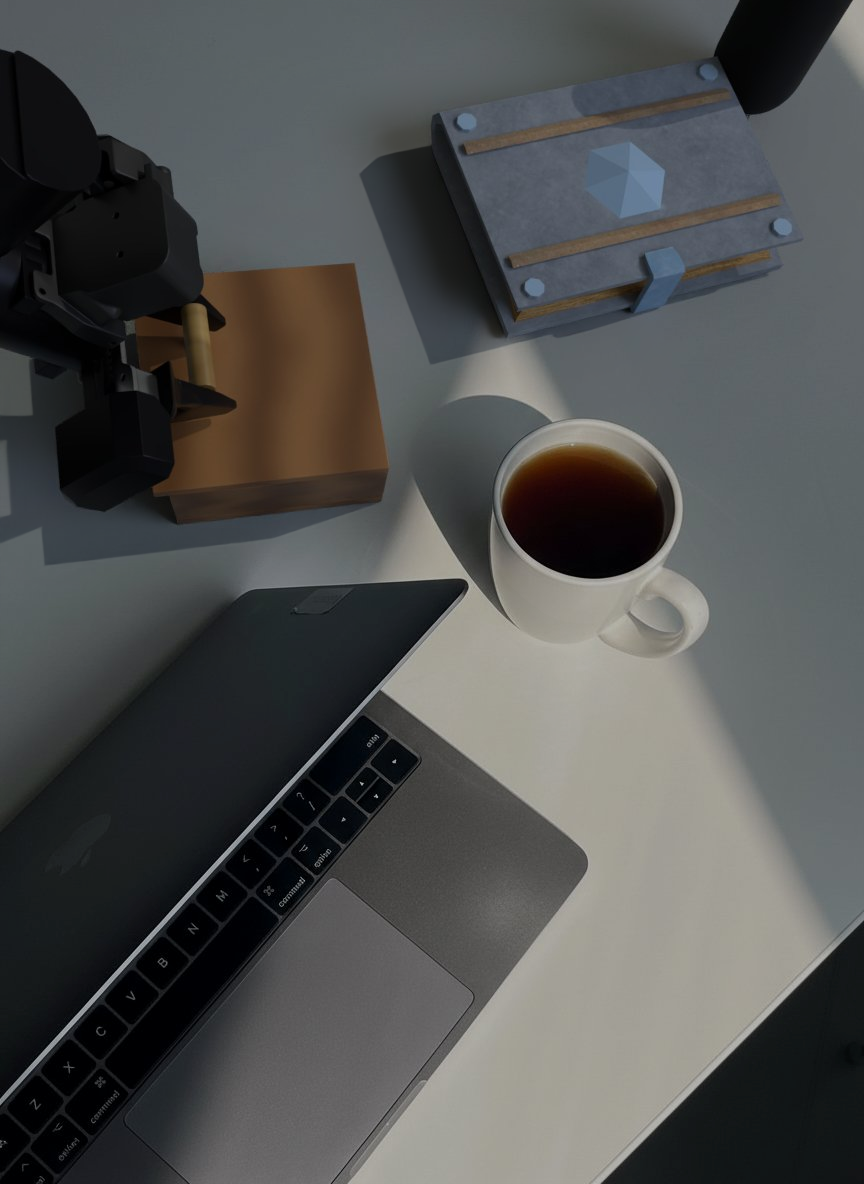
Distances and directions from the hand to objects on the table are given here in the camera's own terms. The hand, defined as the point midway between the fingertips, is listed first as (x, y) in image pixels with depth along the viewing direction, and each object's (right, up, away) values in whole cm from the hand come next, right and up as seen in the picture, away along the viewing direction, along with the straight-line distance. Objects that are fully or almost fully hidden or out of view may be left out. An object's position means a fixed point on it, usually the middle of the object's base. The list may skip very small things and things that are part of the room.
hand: (226, 366), depth 59 cm
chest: (+1, -1, +7) cm, 7 cm away
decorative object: (+35, +24, +19) cm, 46 cm away
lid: (+2, 0, +2) cm, 2 cm away
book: (+24, +14, +14) cm, 31 cm away
